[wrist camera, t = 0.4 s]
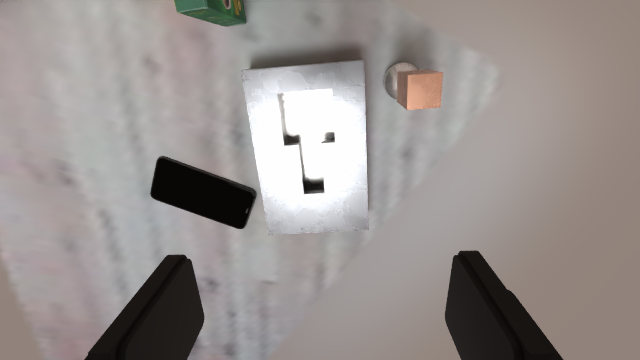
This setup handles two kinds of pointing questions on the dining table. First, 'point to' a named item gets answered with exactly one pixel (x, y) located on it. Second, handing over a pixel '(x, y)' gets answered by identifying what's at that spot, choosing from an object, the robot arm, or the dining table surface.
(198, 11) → the coffee box
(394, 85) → the peg
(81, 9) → the dining table surface
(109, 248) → the dining table surface
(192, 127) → the dining table surface
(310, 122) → the keyhole plate
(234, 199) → the smartphone
